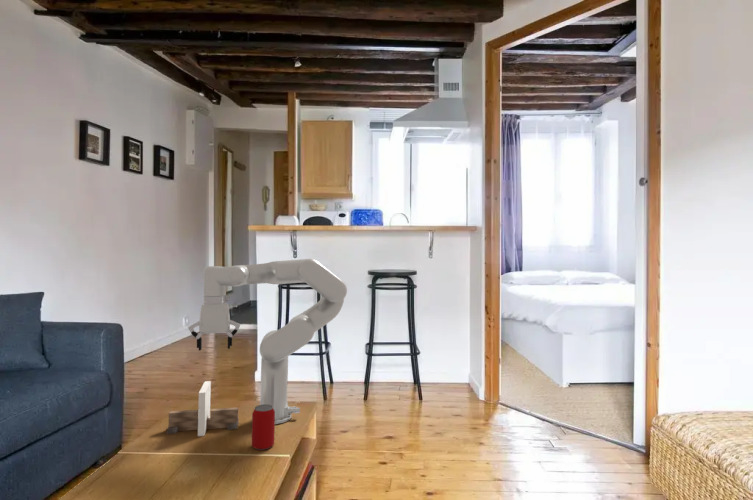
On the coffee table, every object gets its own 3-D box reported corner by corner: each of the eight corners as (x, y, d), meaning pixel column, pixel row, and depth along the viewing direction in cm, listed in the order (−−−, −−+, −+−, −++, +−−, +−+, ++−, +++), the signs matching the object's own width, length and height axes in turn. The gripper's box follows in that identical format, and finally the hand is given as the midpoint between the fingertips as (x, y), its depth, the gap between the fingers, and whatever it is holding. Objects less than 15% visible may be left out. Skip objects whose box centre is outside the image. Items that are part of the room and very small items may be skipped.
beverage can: (268, 440, 141) (268, 402, 141) (278, 447, 136) (278, 407, 136) (247, 445, 137) (248, 406, 137) (257, 453, 131) (258, 412, 132)
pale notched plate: (209, 420, 157) (210, 381, 158) (204, 435, 144) (205, 392, 144) (203, 421, 157) (204, 381, 157) (197, 436, 143) (198, 392, 144)
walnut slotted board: (238, 422, 156) (238, 405, 156) (236, 429, 150) (237, 411, 150) (171, 427, 151) (171, 409, 151) (166, 433, 145) (167, 415, 145)
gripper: (240, 299, 164) (240, 345, 163) (189, 300, 159) (189, 348, 158) (240, 300, 157) (240, 349, 156) (187, 302, 152) (187, 352, 151)
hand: (214, 349), depth 157 cm, fingers open, 9 cm apart
